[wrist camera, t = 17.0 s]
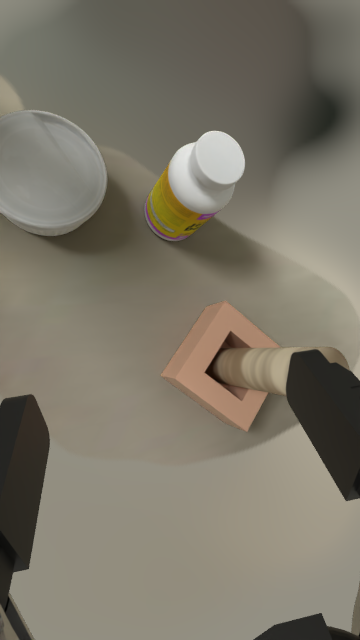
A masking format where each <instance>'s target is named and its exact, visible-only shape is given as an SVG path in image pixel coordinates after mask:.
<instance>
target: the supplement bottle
mask: <svg viewBox="0 0 360 640" xmlns="http://www.w3.org/2000/svg"><path fill="white" fill-rule="evenodd" d="M244 168H245V160H244V155H243V152H242V150H241V148H240V146H239V145H238V143H237V142H236V141H235V140H234V139H233V138H232V137H231V136H229V135H227V134H226V133H223V132H220V131H210V132H208V133H205V134H204V135H203V136H201V138H200V139H199V140H198V141H197V142H196V143H190V144H187V145H185V146H183V147H182V148H180V149H179V150H178V151H177V152H176V154H175V155H174V156H173V158H172V159H171V161H170V163H169V164H168V166H167V167H166V169H165V171H164V172H163V174H162V175H161V177H160V178H159V180H158V181H157V183H156V185H155V186H154V188H153V189H152V191H151V192H150V194H149V195H148V197H147V199H146V202H145V208H144V212H145V218H146V221H147V223H148V225H149V227H150V228H151V229H152V231H153V232H154V233H155V234H157V235H158V236H159V237H161V238H163V239H166V240H169V241H180V240H183V239H185V238H187V237H188V236H190V235H191V234H192V233H194V232H195V231H196V230H197V229H198V228H200V227H201V226H202V225H203V224H204V223H206V222H207V221H208V220H209V219H210V218H211V217H213V216H214V215H215V214H216V213H217V212H219V211H220V210H221V209H222V208H223V207H224V206H226V204H227V203H228V202H229V201H230V199H231V197H232V195H233V192H234V188H235V183H236V182H237V181H238V180H239V179H240V178H241V176H242V174H243V172H244Z"/></svg>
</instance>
